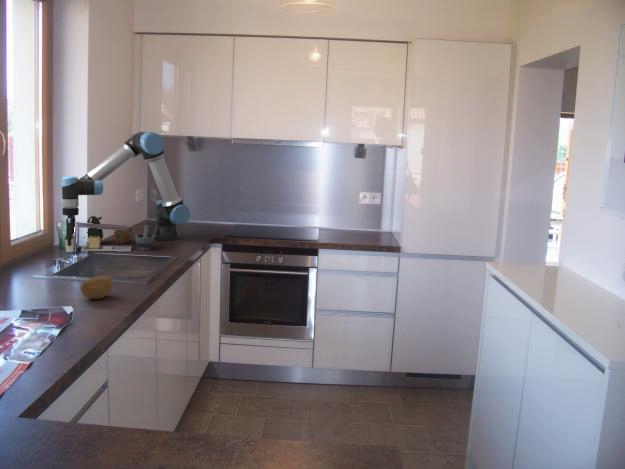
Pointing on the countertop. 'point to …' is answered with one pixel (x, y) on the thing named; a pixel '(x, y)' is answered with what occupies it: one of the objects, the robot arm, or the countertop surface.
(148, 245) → the mortar and pestle
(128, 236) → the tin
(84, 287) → the potato
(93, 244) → the pale yellow block
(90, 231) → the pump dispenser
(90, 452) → the countertop surface
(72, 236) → the nut block
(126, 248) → the rack rail
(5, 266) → the countertop surface
